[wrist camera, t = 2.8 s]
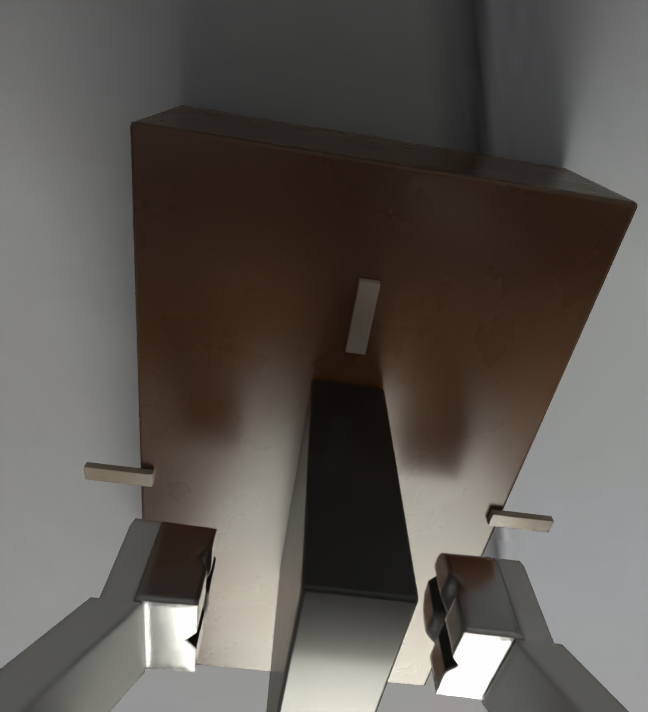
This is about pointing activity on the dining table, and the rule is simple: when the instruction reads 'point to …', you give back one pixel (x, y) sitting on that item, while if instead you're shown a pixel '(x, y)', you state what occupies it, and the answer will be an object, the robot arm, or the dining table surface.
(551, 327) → the control panel
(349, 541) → the red-tipped grey bar
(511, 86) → the dining table surface
